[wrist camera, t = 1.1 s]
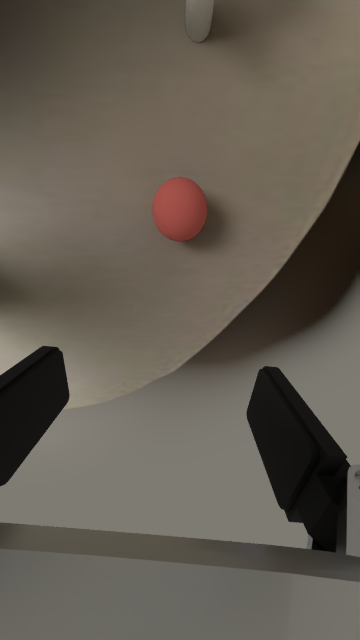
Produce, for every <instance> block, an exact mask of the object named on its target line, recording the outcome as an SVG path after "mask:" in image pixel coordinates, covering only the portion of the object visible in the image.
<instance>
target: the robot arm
mask: <svg viewBox="0 0 360 640" xmlns="http://www.w3.org/2000/svg"><path fill="white" fill-rule="evenodd" d="M68 400H69V389H68V383H67V377H66V371H65V365H64V359H63V353H62V351H60V350H59V348H57V347H51V346H42V347H40V348H39V349H37V350H36V351H35V352H33V353H32V354H30V355H29V356H27V357H26V358H25V359H23V360H22V361H20V362H19V363H17V364H16V365H15V366H13V367H12V368H10V369H9V370H7V371H6V372H5V373H3V374H2V375H0V486H2V485H4V484H6V483H7V482H8V481H9V479H10V478H11V477H12V476H13V474H14V473H15V472H16V470H17V469H18V468H19V466H20V465H21V464H22V462H23V461H24V460H25V458H26V457H27V456H28V454H29V453H30V451H31V450H32V449H33V448H34V446H35V445H36V444H37V442H38V441H39V440H40V438H41V437H42V436H43V434H44V433H45V432H46V430H47V429H48V428H49V426H50V425H51V424H52V422H53V421H54V420H55V418H56V417H57V416H58V414H59V413H60V412H61V411H62V409H63V408H64V407H65V405H66V404H67V402H68ZM247 419H248V422H249V424H250V428H251V431H252V433H253V436H254V439H255V442H256V444H257V447H258V450H259V453H260V455H261V458H262V461H263V464H264V466H265V469H266V472H267V474H268V478H269V480H270V483H271V486H272V488H273V491H274V494H275V497H276V500H277V502H278V504H279V506H280V508H281V509H284V511H285V513H286V516H287V518H288V521H289V522H299V523H304V526H305V528H306V530H307V533H308V541H307V547H306V549H302V548H293V547H283V546H275V545H266V544H254V543H242V542H232V541H220V540H209V539H197V538H186V537H175V536H163V535H151V534H139V533H126V532H115V531H102V530H90V529H77V528H65V527H53V526H40V525H26V524H12V523H0V640H360V465H352V466H350V464H349V463H348V462H347V460H346V458H347V456H346V455H345V453H344V452H343V451H342V449H341V448H340V447H339V446H338V444H337V443H336V442H335V440H334V439H333V438H332V436H331V435H330V434H329V433H328V431H327V430H326V429H325V427H324V426H323V425H322V424H321V422H320V421H319V420H318V418H317V417H316V416H315V415H314V413H313V412H312V411H311V409H310V408H309V407H308V405H307V404H306V403H305V401H304V400H303V399H302V398H301V396H300V395H299V394H298V392H297V391H296V390H295V389H294V387H293V386H292V385H291V383H290V382H289V381H288V379H287V378H286V377H285V376H284V374H283V373H282V372H281V370H280V369H279V368H277V367H268V366H265V367H263V369H260V370H259V372H258V376H257V379H256V382H255V386H254V389H253V392H252V395H251V399H250V402H249V405H248V409H247Z"/></svg>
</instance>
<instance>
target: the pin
mask: <svg viewBox="0 0 360 640" xmlns="http://www.w3.org/2000/svg"><path fill="white" fill-rule="evenodd" d="M213 7H214V0H186V31H187V34H188V36H189V37H190V39H191V40H193V41H194V42H201V41H203V40H204V39H205V38H206V37H207V36H208V34H209V32H210V28H211V21H212V14H213Z"/></svg>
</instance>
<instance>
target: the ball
mask: <svg viewBox="0 0 360 640" xmlns="http://www.w3.org/2000/svg"><path fill="white" fill-rule="evenodd" d="M206 217H207V202H206V198H205V195H204V193H203V191H202V190H201V188H200V187H199V186H198V185H197V184H196V183H195V182H193V181H192V180H189V179H187V178H180V177H179V178H173V179H170V180H168V181H167V182H165V183H164V184H163V185H162V186H161V187H160V188H159V190H158V191H157V193H156V195H155V198H154V201H153V218H154V221H155V224H156V226H157V228H158V229H159V231H160V232H161V233H162V234H163V235H164V236H166V237H167V238H169V239H171V240H174V241H186V240H189V239H191V238H193V237H194V236H196V235H197V234H198V233H199V232H200V230H201V229H202V227H203V226H204V223H205V221H206Z"/></svg>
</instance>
